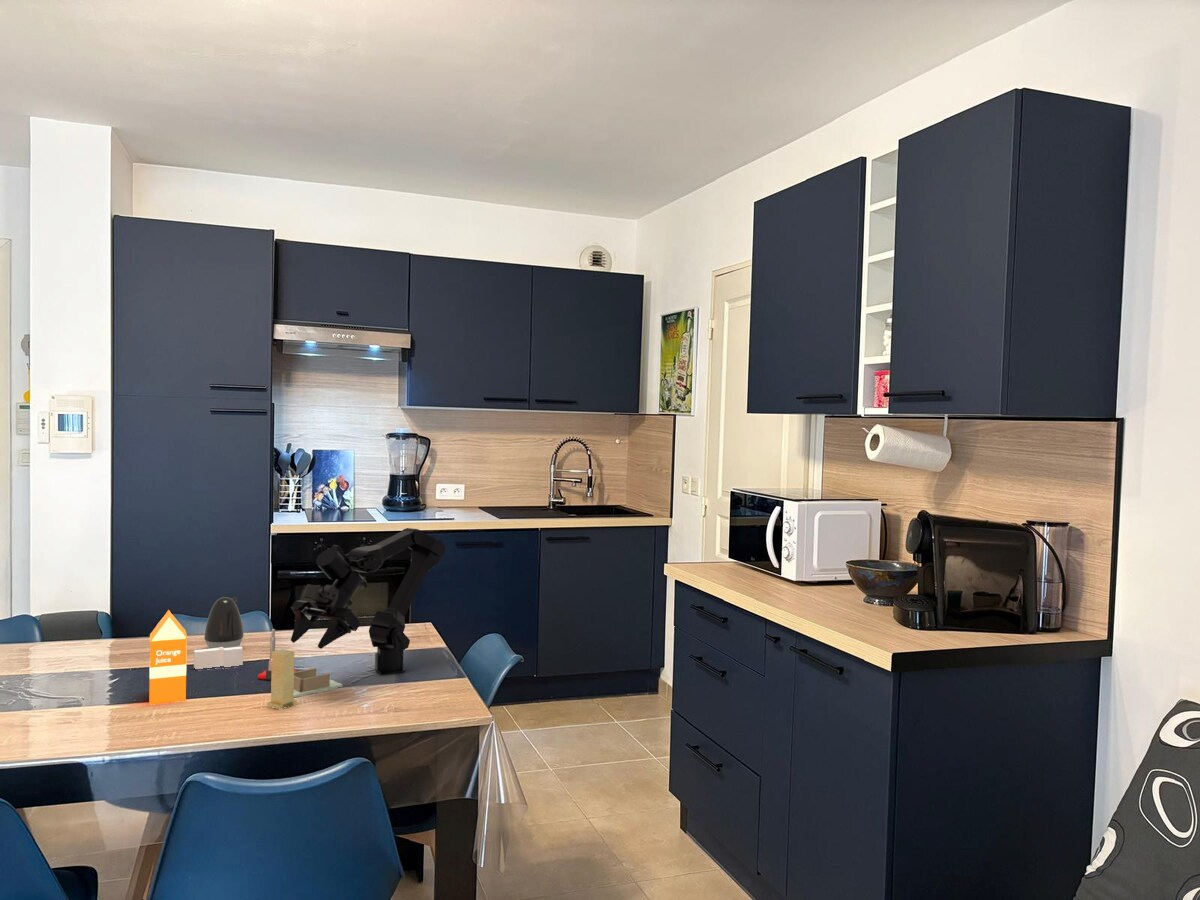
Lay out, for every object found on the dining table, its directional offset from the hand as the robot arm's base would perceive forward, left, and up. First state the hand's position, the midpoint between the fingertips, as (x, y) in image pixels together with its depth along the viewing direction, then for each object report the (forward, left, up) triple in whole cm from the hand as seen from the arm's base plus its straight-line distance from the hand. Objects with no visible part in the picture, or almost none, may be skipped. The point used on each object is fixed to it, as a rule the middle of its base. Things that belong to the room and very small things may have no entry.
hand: (305, 644), depth 204 cm
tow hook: (+3, -22, -13) cm, 26 cm away
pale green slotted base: (-2, -8, -13) cm, 15 cm away
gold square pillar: (+6, +3, -13) cm, 14 cm away
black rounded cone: (+13, -54, -13) cm, 57 cm away
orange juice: (+29, -14, -13) cm, 34 cm away
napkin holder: (+15, -35, -14) cm, 41 cm away
